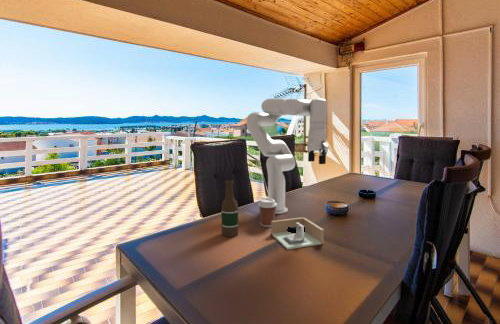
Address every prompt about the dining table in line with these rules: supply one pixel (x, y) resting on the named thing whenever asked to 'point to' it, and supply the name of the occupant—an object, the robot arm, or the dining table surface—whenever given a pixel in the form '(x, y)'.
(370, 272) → the dining table surface
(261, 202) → the coffee cup
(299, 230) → the bracket
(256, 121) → the robot arm
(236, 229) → the beer bottle
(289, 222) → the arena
